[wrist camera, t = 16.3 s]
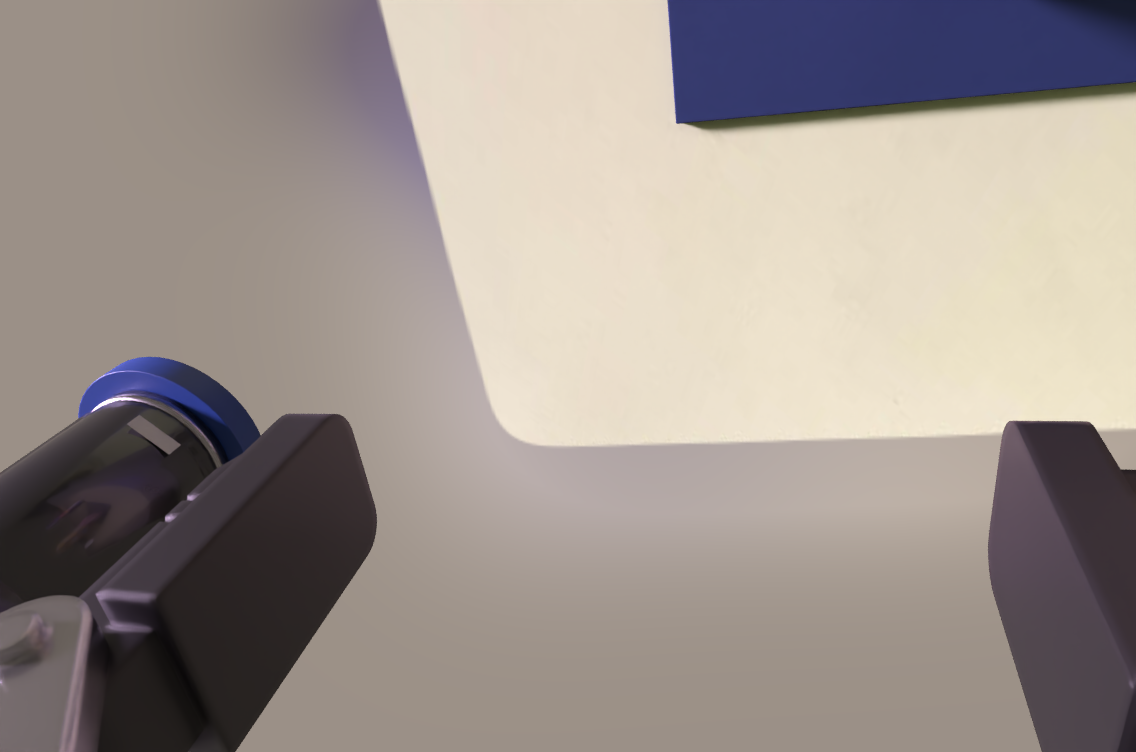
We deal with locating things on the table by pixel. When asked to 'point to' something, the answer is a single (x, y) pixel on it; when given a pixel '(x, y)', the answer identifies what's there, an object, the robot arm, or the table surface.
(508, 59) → the table surface
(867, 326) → the table surface
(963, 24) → the felt mat
